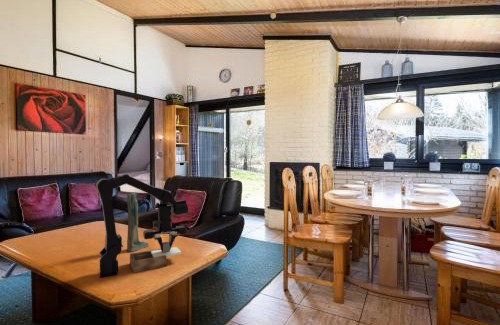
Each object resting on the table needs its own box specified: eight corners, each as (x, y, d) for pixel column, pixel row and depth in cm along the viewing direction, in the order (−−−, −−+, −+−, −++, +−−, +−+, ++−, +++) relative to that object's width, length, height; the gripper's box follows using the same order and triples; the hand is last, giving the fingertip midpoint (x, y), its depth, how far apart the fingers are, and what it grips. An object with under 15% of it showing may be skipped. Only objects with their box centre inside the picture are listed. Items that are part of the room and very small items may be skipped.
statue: (149, 246, 156) (147, 191, 155) (131, 252, 146) (130, 193, 146) (140, 244, 159) (139, 190, 158) (123, 250, 150) (121, 193, 149)
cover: (153, 259, 126) (153, 247, 126) (150, 253, 133) (150, 242, 133) (181, 254, 131) (180, 243, 131) (176, 248, 139) (176, 238, 139)
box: (132, 272, 120) (132, 262, 120) (130, 263, 131) (129, 253, 131) (166, 266, 127) (166, 256, 126) (161, 257, 137) (161, 248, 137)
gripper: (180, 211, 143) (181, 242, 144) (141, 216, 135) (142, 249, 135) (186, 215, 133) (187, 248, 134) (144, 220, 125) (145, 256, 125)
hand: (165, 250), depth 132 cm, fingers closed on cover, 3 cm apart
